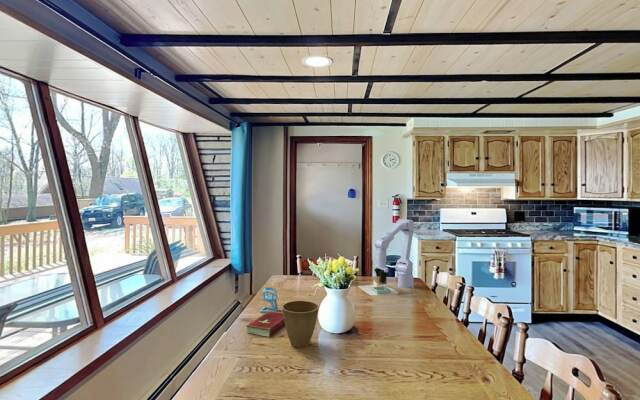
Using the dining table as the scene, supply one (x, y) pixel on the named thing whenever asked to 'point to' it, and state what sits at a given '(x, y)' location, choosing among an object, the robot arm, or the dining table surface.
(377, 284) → the cream box
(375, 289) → the packing board
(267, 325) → the hardcover book
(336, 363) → the dining table surface
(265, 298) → the chair
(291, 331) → the plant pot
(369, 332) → the dining table surface
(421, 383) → the dining table surface
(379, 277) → the walnut block
